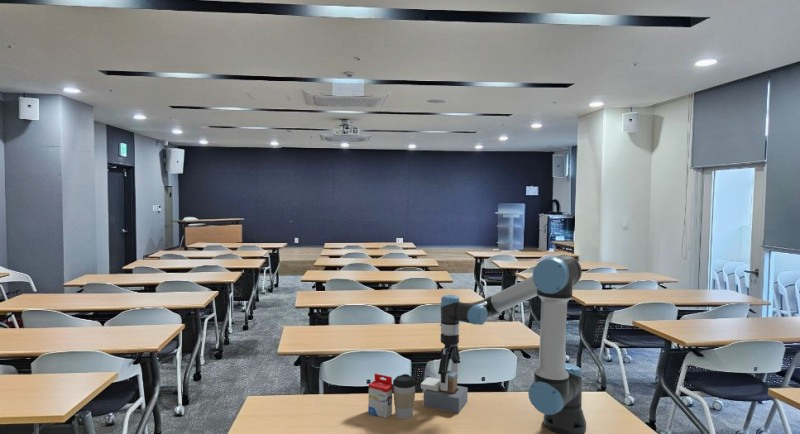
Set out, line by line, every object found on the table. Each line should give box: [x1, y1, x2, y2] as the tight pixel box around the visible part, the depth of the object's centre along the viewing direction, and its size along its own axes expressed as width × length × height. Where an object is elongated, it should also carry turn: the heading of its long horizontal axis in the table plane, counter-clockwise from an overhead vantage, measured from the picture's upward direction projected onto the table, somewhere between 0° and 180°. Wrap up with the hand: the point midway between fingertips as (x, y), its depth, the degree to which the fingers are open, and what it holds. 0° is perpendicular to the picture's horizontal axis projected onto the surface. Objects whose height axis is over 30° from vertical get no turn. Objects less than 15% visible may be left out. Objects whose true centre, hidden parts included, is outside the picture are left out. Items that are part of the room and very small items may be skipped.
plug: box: [442, 370, 458, 394], centre depth 190 cm, size 5×5×12 cm
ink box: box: [367, 373, 394, 419], centre depth 182 cm, size 8×5×15 cm, turn 62°
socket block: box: [423, 385, 469, 414], centre depth 191 cm, size 15×12×6 cm
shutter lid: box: [420, 376, 440, 392], centre depth 193 cm, size 7×8×2 cm
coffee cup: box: [392, 373, 417, 420], centre depth 181 cm, size 9×9×15 cm
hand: (449, 384), depth 190 cm, fingers open, 13 cm apart
